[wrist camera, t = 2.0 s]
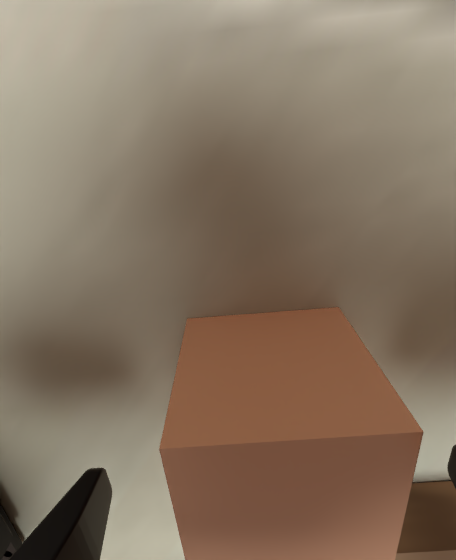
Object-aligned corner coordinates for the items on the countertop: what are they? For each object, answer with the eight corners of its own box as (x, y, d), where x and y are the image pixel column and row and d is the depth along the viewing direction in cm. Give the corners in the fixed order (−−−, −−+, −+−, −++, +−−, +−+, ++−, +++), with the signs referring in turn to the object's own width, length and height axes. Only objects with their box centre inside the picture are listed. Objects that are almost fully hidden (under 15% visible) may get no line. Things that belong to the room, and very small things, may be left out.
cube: (204, 426, 13) (192, 588, 8) (187, 317, 11) (159, 448, 6) (330, 418, 13) (391, 577, 8) (337, 306, 11) (423, 431, 6)
